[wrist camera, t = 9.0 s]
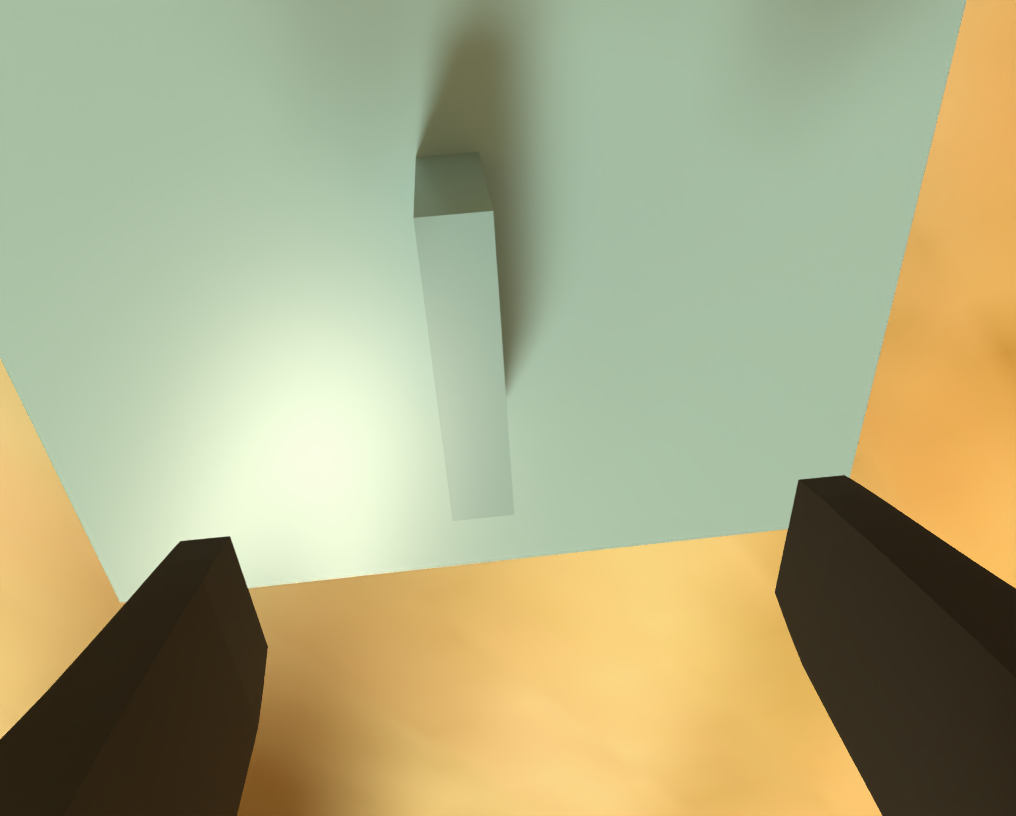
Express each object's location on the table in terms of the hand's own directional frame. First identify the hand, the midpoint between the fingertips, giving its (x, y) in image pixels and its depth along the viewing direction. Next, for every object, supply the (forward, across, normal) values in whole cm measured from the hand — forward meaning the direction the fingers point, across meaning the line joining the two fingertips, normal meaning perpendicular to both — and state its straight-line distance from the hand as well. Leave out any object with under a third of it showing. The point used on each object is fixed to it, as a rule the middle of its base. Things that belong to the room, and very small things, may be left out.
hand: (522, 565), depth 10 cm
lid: (+9, 0, 0) cm, 9 cm away
